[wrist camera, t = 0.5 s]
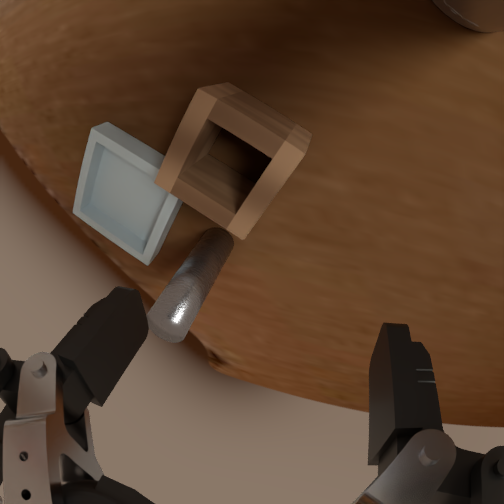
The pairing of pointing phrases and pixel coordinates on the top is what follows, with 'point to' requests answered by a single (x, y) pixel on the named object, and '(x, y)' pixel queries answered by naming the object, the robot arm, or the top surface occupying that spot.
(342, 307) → the top surface
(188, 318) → the pin
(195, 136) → the square hollow tube
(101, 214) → the tray
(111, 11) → the top surface
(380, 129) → the top surface
